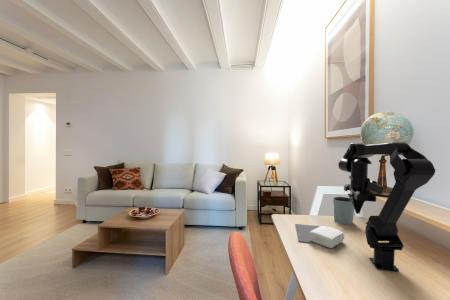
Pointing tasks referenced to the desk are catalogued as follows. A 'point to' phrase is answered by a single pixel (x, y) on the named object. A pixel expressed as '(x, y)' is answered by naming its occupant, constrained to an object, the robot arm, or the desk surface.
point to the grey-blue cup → (343, 210)
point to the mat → (304, 232)
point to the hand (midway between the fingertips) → (357, 213)
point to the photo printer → (326, 236)
